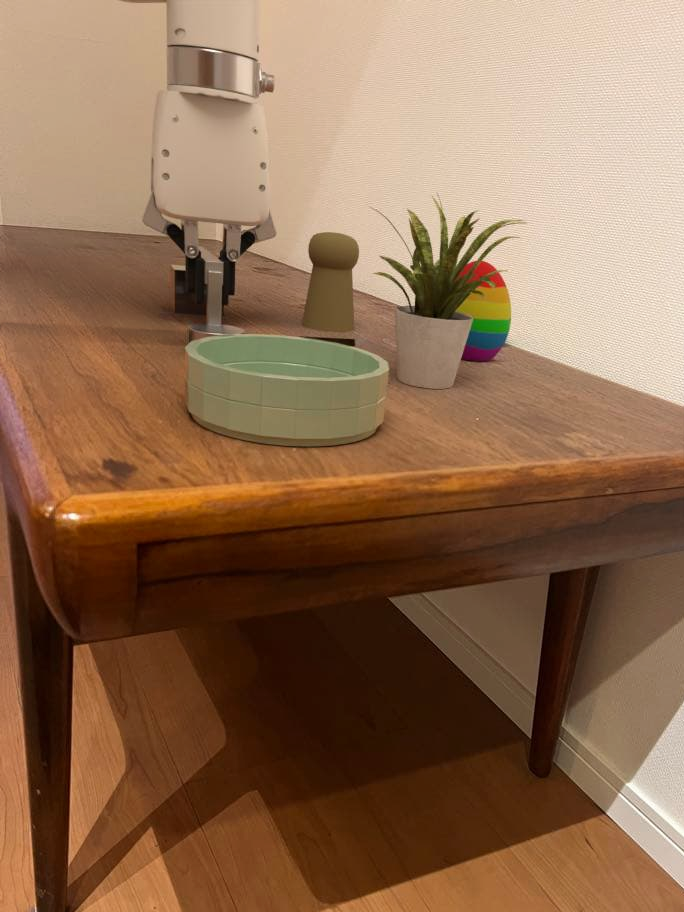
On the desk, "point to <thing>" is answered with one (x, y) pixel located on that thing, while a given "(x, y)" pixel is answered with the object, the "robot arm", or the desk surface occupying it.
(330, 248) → the cork
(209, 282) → the silver stamp handle
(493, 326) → the decorative egg
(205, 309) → the dark wooden cube
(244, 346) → the bowl
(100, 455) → the desk surface
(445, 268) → the house plant
